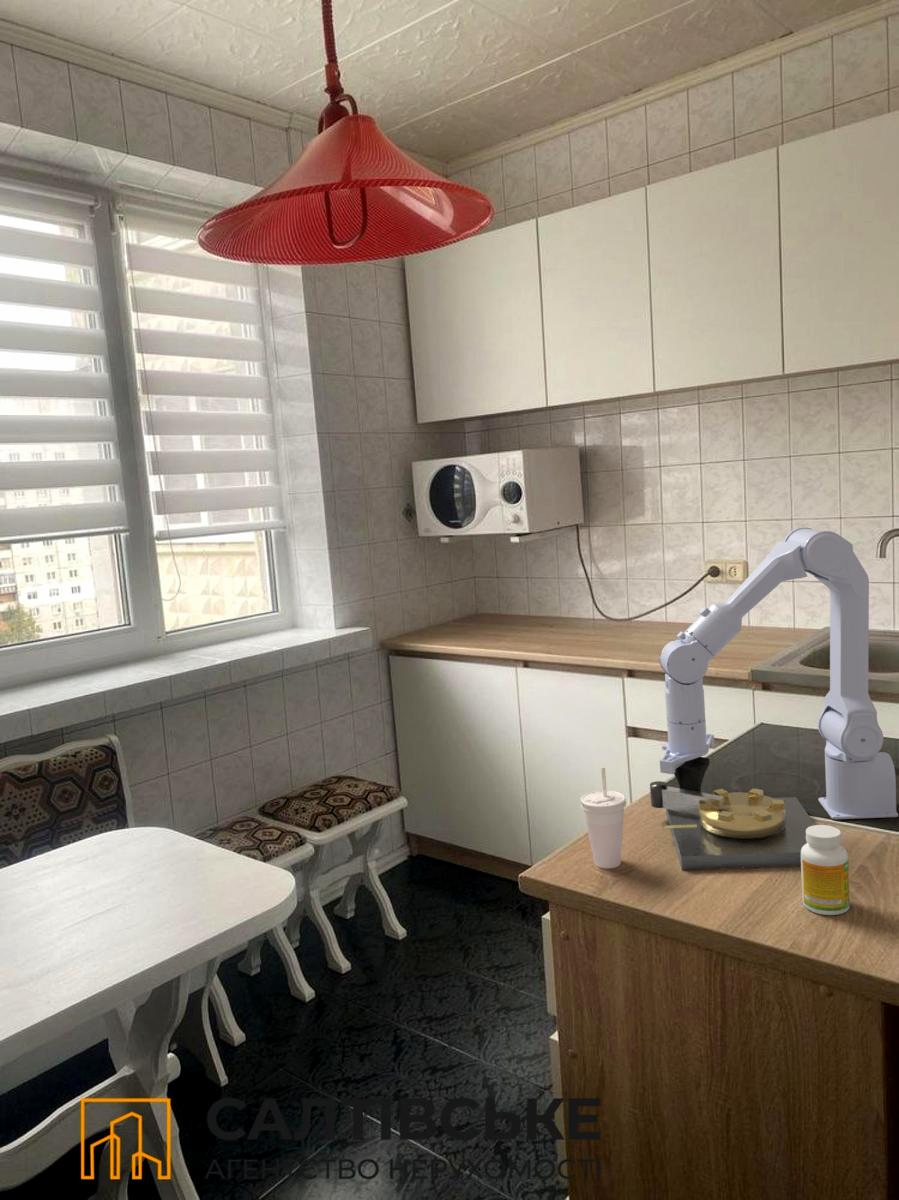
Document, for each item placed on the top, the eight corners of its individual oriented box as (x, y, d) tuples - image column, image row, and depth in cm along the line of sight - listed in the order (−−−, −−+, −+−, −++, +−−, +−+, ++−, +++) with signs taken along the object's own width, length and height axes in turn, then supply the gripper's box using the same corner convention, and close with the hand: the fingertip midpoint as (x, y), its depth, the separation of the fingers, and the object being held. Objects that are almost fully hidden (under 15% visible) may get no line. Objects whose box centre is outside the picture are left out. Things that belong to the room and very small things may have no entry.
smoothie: (639, 859, 128) (632, 765, 126) (614, 876, 123) (607, 779, 122) (601, 849, 132) (594, 758, 130) (576, 866, 128) (568, 771, 126)
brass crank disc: (798, 815, 132) (797, 793, 131) (764, 844, 123) (763, 821, 123) (671, 791, 146) (669, 771, 146) (632, 816, 137) (631, 795, 137)
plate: (796, 809, 140) (795, 796, 140) (833, 865, 121) (833, 850, 121) (656, 814, 143) (655, 802, 143) (670, 870, 124) (669, 855, 124)
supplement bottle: (854, 917, 107) (852, 840, 106) (807, 916, 109) (803, 840, 107) (844, 895, 113) (842, 822, 111) (799, 895, 114) (796, 822, 112)
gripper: (683, 704, 145) (688, 784, 147) (639, 729, 134) (645, 815, 136) (725, 708, 140) (729, 791, 142) (683, 734, 129) (688, 824, 131)
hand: (691, 804), depth 139 cm, fingers closed
